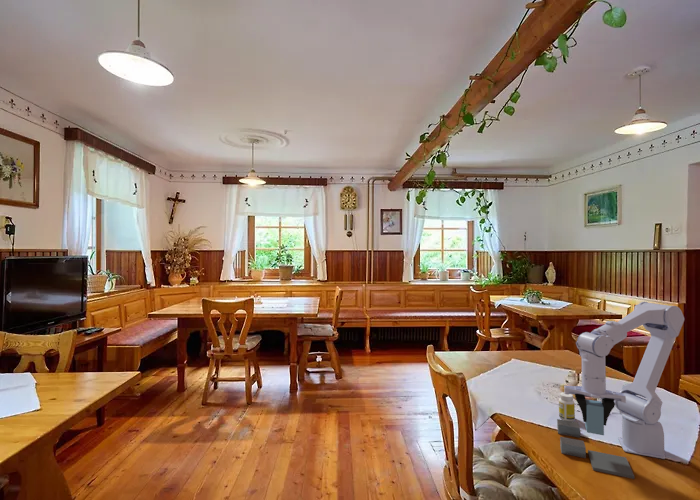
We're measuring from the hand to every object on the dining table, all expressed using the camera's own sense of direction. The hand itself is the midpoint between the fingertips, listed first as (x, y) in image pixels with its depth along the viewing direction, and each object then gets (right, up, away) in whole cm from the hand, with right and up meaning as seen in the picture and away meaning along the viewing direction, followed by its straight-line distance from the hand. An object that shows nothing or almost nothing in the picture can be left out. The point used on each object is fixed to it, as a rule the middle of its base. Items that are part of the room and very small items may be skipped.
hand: (594, 422), depth 103 cm
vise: (-2, -10, +9) cm, 13 cm away
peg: (0, -2, 0) cm, 2 cm away
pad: (+1, -10, -4) cm, 11 cm away
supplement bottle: (+6, -10, +23) cm, 25 cm away
